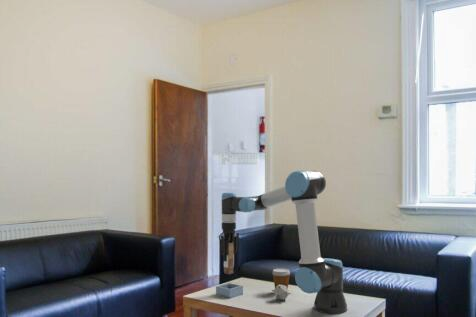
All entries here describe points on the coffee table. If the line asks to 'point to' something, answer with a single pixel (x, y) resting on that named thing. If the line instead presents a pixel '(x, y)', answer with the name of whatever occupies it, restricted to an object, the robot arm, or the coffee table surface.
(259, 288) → the coffee table surface
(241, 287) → the light blue square bin
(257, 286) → the coffee table surface
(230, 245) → the long wooden beam
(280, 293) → the game die
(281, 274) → the disposable coffee cup
